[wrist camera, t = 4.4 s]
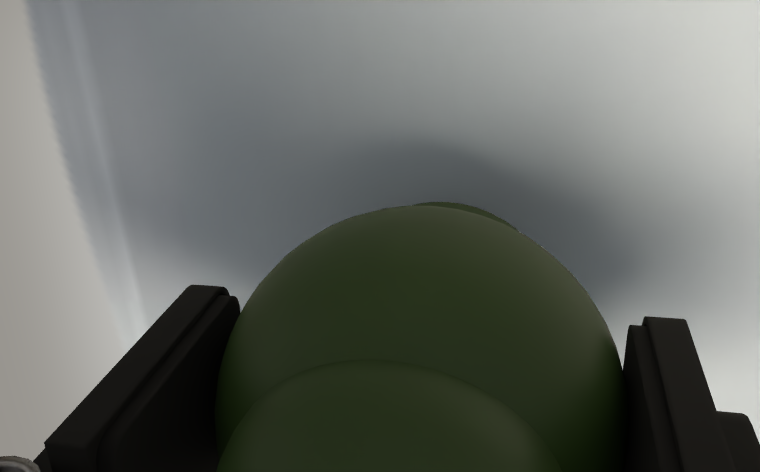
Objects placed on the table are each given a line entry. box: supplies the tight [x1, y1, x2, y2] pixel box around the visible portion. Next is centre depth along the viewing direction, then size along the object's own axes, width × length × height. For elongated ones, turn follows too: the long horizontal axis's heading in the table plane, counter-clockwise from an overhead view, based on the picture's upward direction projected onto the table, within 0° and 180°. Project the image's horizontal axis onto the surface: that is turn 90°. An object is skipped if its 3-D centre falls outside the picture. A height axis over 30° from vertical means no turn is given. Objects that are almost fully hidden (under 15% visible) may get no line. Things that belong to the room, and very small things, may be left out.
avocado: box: [214, 202, 628, 472], centre depth 10 cm, size 6×6×8 cm
